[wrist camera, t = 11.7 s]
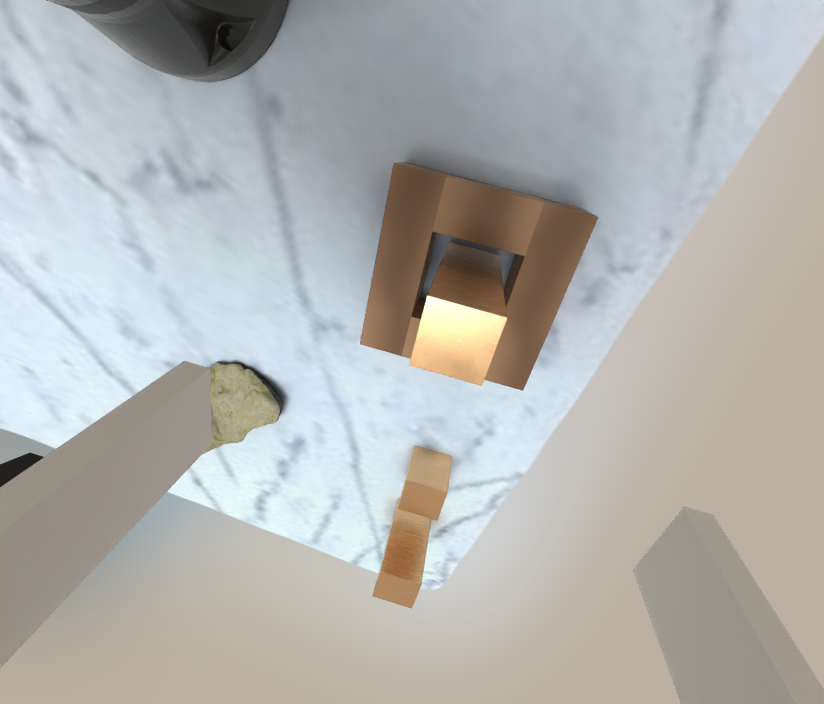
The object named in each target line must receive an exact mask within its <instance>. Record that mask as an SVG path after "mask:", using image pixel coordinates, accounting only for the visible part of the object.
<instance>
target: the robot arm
mask: <svg viewBox="0 0 824 704" xmlns="http://www.w3.org/2000/svg"><path fill="white" fill-rule="evenodd" d="M47 1H50V2H53V3H56V4H59V5H62V6H64V7H67V8H70V9H72V10H73V11H74V12H76V13H77V14H78V15H80V16H81V17H82V18H83V19H85V20H86V21H87V22H89V23H90V24H91V25H92V26H94V27H95V28H96V29H98V30H99V31H100V32H101V33H103V34H104V35H105V36H107V37H108V38H109V39H110V40H112V41H113V42H114V43H116V44H117V45H118V46H120V47H121V48H122V49H123V50H125V51H126V52H127V53H129V54H130V55H131V56H133V57H134V58H136V59H137V60H139V61H141V62H143V63H144V64H146V65H148V66H150V67H152V68H154V69H156V70H159V71H161V72H164V73H167V74H171V75H174V76H178V77H181V78H185V79H189V80H194V81H202V82H211V81H219V80H224V79H228V78H231V77H233V76H236V75H237V74H239V73H241V72H243V71H245V70H246V69H248V68H249V67H250V66H251V65H253V64H254V63H255V62H256V61H257V60H258V59H259V58H260V57H261V56H262V55H263V53H264V52H265V51H266V50H267V48H268V47H269V45H270V44H271V42H272V41H273V39H274V37H275V35H276V33H277V31H278V29H279V27H280V24H281V22H282V19H283V16H284V14H285V10H286V7H287V3H288V0H47ZM211 444H212V424H211V370H210V368H207V367H204V366H200V365H197V364H193V363H190V362H186V361H183V362H182V363H180V364H179V365H178V366H176V367H175V368H173V369H172V370H170V371H169V372H167V373H166V374H164V375H163V376H162V377H160V378H159V379H157V380H156V381H154V382H153V383H151V384H150V385H148V386H147V387H146V388H144V389H143V390H141V391H140V392H138V393H137V394H135V395H134V396H132V397H131V398H130V399H128V400H127V401H125V402H124V403H122V404H121V405H119V406H118V407H116V408H115V409H114V410H112V411H111V412H109V413H108V414H106V415H105V416H103V417H102V418H101V419H99V420H98V421H96V422H95V423H93V424H92V425H90V426H89V427H87V428H86V429H85V430H83V431H82V432H80V433H79V434H77V435H76V436H74V437H73V438H71V439H70V440H69V441H67V442H66V443H64V444H63V445H61V446H60V447H58V448H57V449H56V450H54V451H53V452H51V453H50V454H48V455H47V456H45V457H42V456H39V455H36V454H32V453H28V454H25V455H23V456H20V457H18V458H15V459H13V460H10V461H8V462H5V463H3V464H0V668H1V667H2V666H3V665H4V664H5V663H6V662H7V661H8V660H9V659H10V657H11V656H12V655H13V654H14V653H15V652H16V651H17V650H18V649H19V648H20V647H21V646H22V645H23V644H24V643H25V642H26V640H27V639H28V638H29V637H30V636H31V635H32V634H33V633H34V632H35V631H36V630H37V629H38V628H39V627H40V626H41V624H42V623H43V622H44V621H45V620H46V619H47V618H48V617H49V616H50V615H51V614H52V613H53V612H54V611H55V610H56V608H58V607H59V605H60V604H61V603H62V602H63V601H64V600H65V599H66V598H67V597H68V596H69V595H70V594H71V593H72V592H73V591H74V590H75V588H76V587H77V586H78V585H79V584H80V583H81V582H82V581H83V580H84V579H85V578H86V577H87V576H88V574H90V572H91V571H92V570H93V569H94V568H95V567H96V566H97V565H98V564H99V563H100V562H101V561H102V560H103V559H104V558H105V557H106V555H107V554H108V553H109V552H110V551H111V550H112V549H113V548H114V547H115V546H116V545H117V544H118V543H119V542H120V541H121V539H123V537H124V536H125V535H126V534H127V533H128V532H129V531H130V530H131V529H132V528H133V527H134V526H135V525H136V524H137V523H138V522H139V520H140V519H141V518H142V517H143V516H144V515H145V514H146V513H147V512H148V511H149V510H150V509H151V508H152V507H153V506H154V504H156V502H157V501H158V500H159V499H160V498H161V497H162V496H163V495H164V494H165V493H166V492H167V491H168V490H169V489H170V488H171V487H172V485H173V484H174V483H175V482H176V481H177V480H178V479H179V478H180V477H181V476H182V475H183V474H184V473H185V472H186V471H187V470H188V468H189V467H190V466H191V465H192V464H193V463H194V462H195V461H196V460H197V459H198V458H199V457H200V456H201V455H202V454H203V453H204V452H205V450H206V449H207V448H208V447H209V446H210V445H211ZM633 571H634V574H635V576H636V579H637V582H638V585H639V588H640V591H641V593H642V596H643V599H644V601H645V604H646V607H647V610H648V613H649V616H650V618H651V621H652V624H653V627H654V630H655V632H656V635H657V638H658V640H659V644H660V647H661V649H662V652H663V655H664V658H665V661H666V663H667V666H668V669H669V672H670V674H671V677H672V680H673V683H674V686H675V688H676V691H677V694H678V697H679V700H680V702H681V704H824V689H823V687H822V685H821V684H820V682H819V681H818V679H817V678H816V676H815V674H814V673H813V672H812V670H811V668H810V666H809V665H808V663H807V662H806V660H805V659H804V657H803V655H802V654H801V652H800V651H799V649H798V648H797V646H796V644H795V643H794V641H793V640H792V638H791V636H790V635H789V634H788V632H787V630H786V629H785V627H784V625H783V624H782V622H781V621H780V619H779V618H778V616H777V614H776V613H775V611H774V610H773V608H772V607H771V605H770V604H769V602H768V600H767V599H766V597H765V596H764V594H763V592H762V591H761V589H760V588H759V586H758V585H757V583H756V581H755V580H754V578H753V577H752V575H751V573H750V572H749V570H748V569H747V567H746V566H745V564H744V562H743V561H742V560H741V558H740V556H739V555H738V553H737V551H736V550H735V548H734V547H733V545H732V544H731V542H730V540H729V539H728V538H727V536H726V534H725V533H724V531H723V529H722V528H721V526H720V525H719V524H718V522H717V520H716V519H715V517H714V515H712V514H708V513H705V512H701V511H698V510H694V509H691V508H687V507H683V509H682V510H681V511H680V512H679V514H678V515H677V516H676V517H675V519H674V520H673V521H672V522H671V524H670V525H669V526H668V527H667V528H666V530H665V531H664V532H663V533H662V535H661V536H660V537H659V538H658V540H657V541H656V542H655V543H654V545H653V546H652V547H651V548H650V549H649V551H648V552H647V553H646V554H645V556H644V557H643V558H642V559H641V561H640V562H639V563H638V564H637V565H636V567H635V568H634V569H633Z"/></svg>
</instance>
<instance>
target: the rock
mask: <svg viewBox="0 0 824 704" xmlns="http://www.w3.org/2000/svg"><path fill="white" fill-rule="evenodd" d="M210 370H211V424H212V444H211V445H210V446H209V447H208V448H207V449H206V450H205V452H204V453H206V452H208V451H210V450H212V449H214V448H217V447H219V446H221V445H223V444H228V443H238V442H241V441H242V440H243V439H244V437H245V436H246V434H247V433H248V432H249V431H250V430H252V429H253V428H257V427H261V426H264V425H267V424H273V423H274V422H276V421H277V420H278V419H279V416H280V413H281V409H282V404H281V401H280V398H279V397H278V395H277V394H276V393H275V392H274V391H273V390H272V388H271V387H270V386H269V384H268V381H267V380H265V379H262V378H260V377H259V376H258V375H257V374H255V372H253V371H252V370H251V369H246V368H244V366H243V365H241V364H237V363H235V364H232V363H231V364H227V363H224V364H222V363H216V364H214V365H213V366H212V367H211V368H210ZM204 453H203V454H204Z"/></svg>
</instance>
